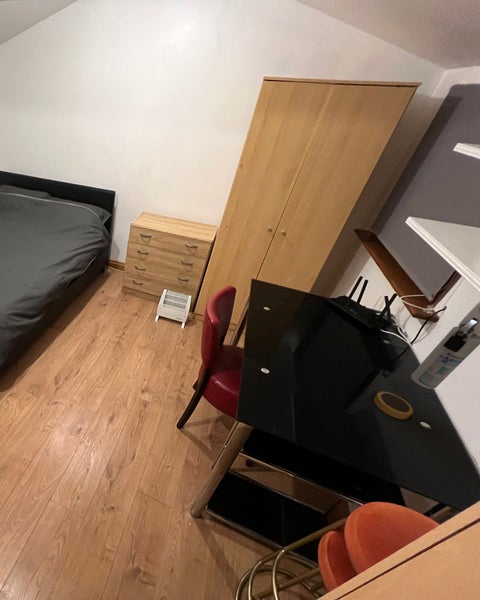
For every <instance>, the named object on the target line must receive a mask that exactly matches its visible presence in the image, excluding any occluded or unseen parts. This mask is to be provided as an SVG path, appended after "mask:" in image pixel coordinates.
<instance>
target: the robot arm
mask: <svg viewBox="0 0 480 600" xmlns="http://www.w3.org/2000/svg"><path fill="white" fill-rule="evenodd" d="M457 327H459V328H460V329H459V330H458V331H457V332H455V333H454V334H453V335H452V336H451V337H450V338H449V339H448V340H447V341H446V343H445V344H444V345H443V346H444V347H446V348H448V349H450V350H451V351H453V352H458V351H459V350H460V349H461V348H462V347H463V346H464V345H465V344H466V343H467V342H466V341H467V340H468V339H469V338H470V337H471V336H472V335H473V334H476V336H480V301H479V302H478V303H476V305H474V306H473V308H472V309H471V310H470V311H469V312H468V313H467V314H466V316H464V317H463V318H462V319H461V321H460V322H459V323H458V325H457ZM469 330H472V331H473V332H471V331H469ZM466 332H467V333H469V334H468V335H467V334H465V333H466ZM466 335H467V336H466Z"/></svg>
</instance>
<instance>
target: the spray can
mask: <svg viewBox="0 0 480 600" xmlns="http://www.w3.org/2000/svg"><path fill="white" fill-rule="evenodd" d="M459 329H460V328H459V326H453V327H452V328H451V329H450V331H448V332H447V334H446V335H445V336H444V337H443V338H442V339H441V341H440V342H439V343H438V344H437V345H436V346H435V347H434V348H433V349H432V350H431V352H430V353H429V354H428V355H427V357H426V358H424V359H423V361H422V362H421V363H420V365H418V366H417V368H416V369H415V370H414V371H413V372H412V373H411V375H410V379H411V380H412V381H413V382H414V383H416V384H417V385H419V386H420V387H422V388H425V389H430V390H434V389H436V388H437V387H438V386H439V385H440V384H441V383H442V382H443V381H445V379H446V378H447V377H448V376H449V375H450V374H452V372H453V371H455V369H457V367H458V366H460V364H462V363H463V362H464V361H465V360H466V359H467V358H468V356H470V355H471V354H472V353H473V352H474V351H475V350H476V349H477V348H478V347H479V346H480V336H476V334H473V335H472V336H471V337H470V338H469V339H468V340H467V341H466V342H467V343H466V344H465V345H464V346H463V347H462V348H461V349H460V350H459V351H458V352H453V351H451V350H450V349H448V348H446V347H444V346H443V345H444V344H445V343H446V341H447V340H448V339H449V338H450V337H451V336H452V335H453V334H454V333H455V332H457V331H458V330H459ZM469 331H471V332H473V331H472V330H469ZM465 334H467V335H468V334H469V333H467V332H466V333H465ZM467 335H466V336H467Z"/></svg>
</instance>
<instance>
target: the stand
mask: <svg viewBox="0 0 480 600" xmlns="http://www.w3.org/2000/svg"><path fill="white" fill-rule="evenodd" d="M373 403H374V404H375V406H376V407H377V408H378V409H379V410H381V411H382V412H383V413H385V414H386V415H388V416H390V417H393V418H395V419H399V420H407V419H409V417H410V416H411V415H413V413H414V409H413V407H412V405H411V404H410V403H409V402H407V400H405V399H403V398H402V397H400V396H398V395H397V394H395V393H392V392H388V391H379V392H378V393H376V395H375V396H374V397H373Z"/></svg>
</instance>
